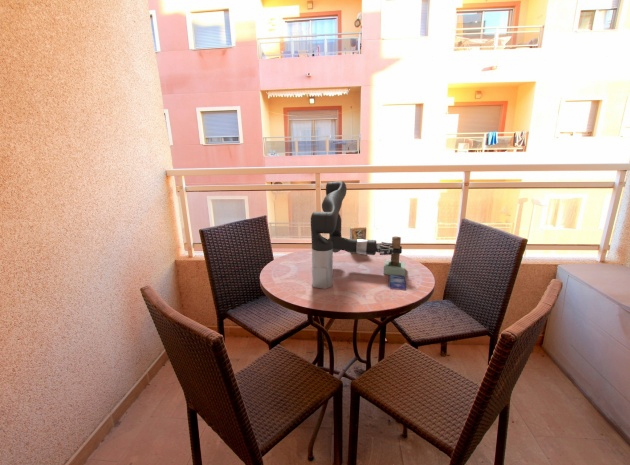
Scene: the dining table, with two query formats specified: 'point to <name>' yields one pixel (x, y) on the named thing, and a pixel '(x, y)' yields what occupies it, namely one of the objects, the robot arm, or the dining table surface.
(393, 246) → the dowel
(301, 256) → the dining table surface
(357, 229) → the candy box
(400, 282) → the smartphone
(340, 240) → the robot arm
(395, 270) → the square frame
